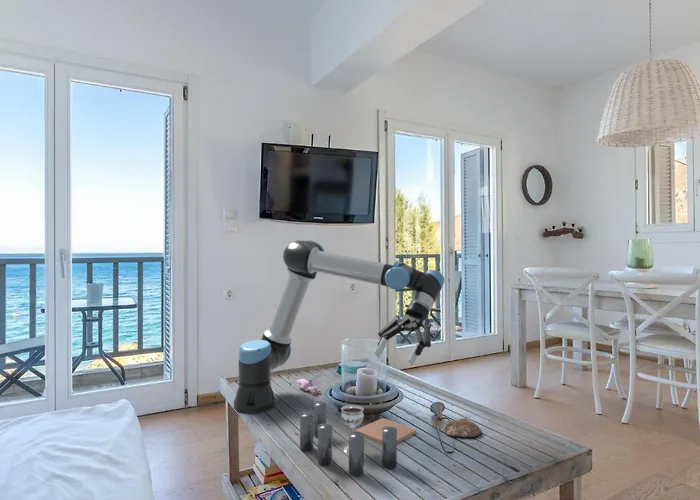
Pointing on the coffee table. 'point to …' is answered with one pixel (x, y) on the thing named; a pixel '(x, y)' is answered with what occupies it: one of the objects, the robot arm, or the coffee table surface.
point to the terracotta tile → (375, 428)
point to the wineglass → (351, 417)
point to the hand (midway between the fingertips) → (393, 359)
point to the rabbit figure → (309, 386)
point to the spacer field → (318, 428)
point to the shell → (462, 429)
